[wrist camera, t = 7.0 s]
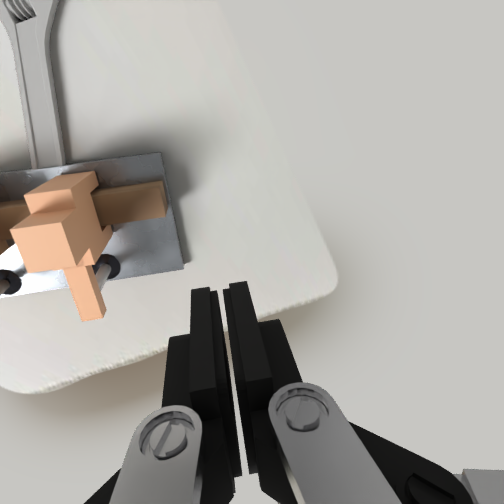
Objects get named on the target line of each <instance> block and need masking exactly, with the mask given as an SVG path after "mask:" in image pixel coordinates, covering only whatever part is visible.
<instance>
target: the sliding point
mask: <svg viewBox="0 0 504 504" xmlns="http://www.w3.org/2000/svg"><path fill="white" fill-rule="evenodd" d="M98 185H99V184H98V181H97V177H96V174H95V171H89V172H82V173H74V174H66V175H59V176H56V177H54V178H52V179H51V180H49V181H47V182H45V183H44V184H42V185H40V186H38V187H37V188H35V189H33V190H31V191H30V192H28V193H26V194H24V198H25V200H26V203H27V205H28V208H29V211H30V213H31V215H29V216H28V217H27V218H25V219H24V220H22V221H21V222H20V223H18V224H17V225H15V226H14V227H13V228H11V229H10V232H11V234H12V237H13V239H14V241H15V244H16V246H17V248H18V251H19V253H20V256H21V258H22V260H23V263H24V265H25V267H26V270H27V272H28V273H34V272H41V271H48V270H53V271H55V270H62V269H63V272H64V274H65V277H66V280H67V282H68V285H69V288H70V290H71V293H72V296H73V298H74V301H75V304H76V307H77V309H78V312H79V315H80V317H81V320H82V322H83V321H89V320H95V319H101V318H103V317H104V314H105V312H106V307H105V304H104V301H103V298H102V295H101V290H102V288H103V286H104V284H105V282H106V280H107V278H108V276H109V274H110V272H111V267H110V265H108V264H102V265H101V266H100V268H99V269H98V271H97V273H96V275H95V274H94V271H93V268H92V265H95V263H96V262H97V260H98V258H99V257H100V255H101V254H102V252H103V250H104V249H105V247H106V245H107V244H108V242H109V240H110V239H111V237H112V235H113V232H112V229H111V225H105V226H100V223H99V220H98V217H97V213H96V210H95V207H94V203H93V200H92V197H91V194H90V193H91V192H92V191H93V190H94V189H95V188H96V187H97V186H98Z"/></svg>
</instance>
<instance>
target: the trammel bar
mask: <svg viewBox="0 0 504 504" xmlns="http://www.w3.org/2000/svg"><path fill="white" fill-rule="evenodd" d="M90 194H91V197H92V200H93V203H94V207H95V210H96V213H97V217H98V220H99V223H100V226H105V225H112V224H119V223H126V222H133V221H140V220H147V219H154V218H161V217H166V214H167V210H168V205H167V201H166V196H165V191H164V187H163V182H162V181H155V182H148V183H141V184H133V185H126V186H118V187H111V188H103V189H96V190H93V191H92V192H91V193H90ZM29 215H31V213H30V211H29V208H28V205H27V203H26V200H25V199H22V200H14V201H7V202H0V256H1V255H2V254H3V253H4V252H6V251H7V250H8V249H9V246H8V244H7V242H6V240H8V239H13V237H12V234H11V232H10V229H11V228H13V227H14V226H15V225H17V224H18V223H20V222H21V221H22V220H24V219H25V218H27V217H28V216H29ZM9 286H10V284H9V282H8V281H7V280H4V279H1V280H0V296H1V295H2V294H3V293H4V292H5V291H6V290H7V289H8V288H9Z"/></svg>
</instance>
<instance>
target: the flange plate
mask: <svg viewBox="0 0 504 504" xmlns="http://www.w3.org/2000/svg"><path fill="white" fill-rule="evenodd" d="M89 171H95V174H96V177H97V181H98V184H99V185H98V186H97V187H96V188H95V189H94V190H96V189H103V188H111V187H118V186H126V185H133V184H141V183H148V182H155V181H162V182H163V187H164V191H165V196H166V201H167V205H168V210H167V214H166V217H161V218H154V219H147V220H140V221H133V222H126V223H119V224H112V225H111V229H112V232H113V235H112V237H111V239H110V240H109V242H108V244H107V245H106V247H105V249H104V250H103V252H102V254H101V255H100V257H99V258H98V260H97V262H96V263H95V265H92V268H93V271H94V274H95V275H96V273H97V271H98V269H99V268H100V266H101V265H102V264H108V265H110V267H111V272H110V274H109V276H108V278H107V280H106V281H112V280H118V279H124V278H131V277H137V276H144V275H150V274H156V273H163V272H169V271H176V270H182V269H184V262H183V257H182V252H181V247H180V242H179V237H178V233H177V228H176V223H175V218H174V213H173V209H172V204H171V199H170V194H169V189H168V185H167V180H166V175H165V170H164V165H163V161H162V156H161V152H157V153H149V154H141V155H133V156H126V157H118V158H110V159H102V160H94V161H87V162H79V163H71V164H65V165H64V166H59V167H58V166H56V167H48V168H41V169H36V170H32V169H24V170H16V171H8V172H1V173H0V202H7V201H14V200H22V199H25V198H24V194H26V193H28V192H30V191H31V190H33V189H35V188H37V187H38V186H40V185H42V184H44V183H45V182H47V181H49V180H51V179H52V178H54V177H56V176H59V175H66V174H74V173H82V172H89ZM6 242H7V244H8V246H9V249H8V250H7V251H6V252H4V253H3V254H2V255H1V256H0V280H1V279H4V280H7V281H8V282H9V284H10V286H9V288H8V289H7V290H6V291H5V292H4V293H3V294H2V295H1V296H0V298H3V297H9V296H16V295H22V294H28V293H35V292H41V291H48V290H54V289H60V288H67V287H69V285H68V282H67V280H66V277H65V274H64V272H63V269H62V270H55V271H53V270H48V271H41V272H34V273H28V272H27V270H26V267H25V265H24V263H23V260H22V258H21V256H20V253H19V251H18V248H17V246H16V244H15V241H14V239H8V240H6Z"/></svg>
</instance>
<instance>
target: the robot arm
mask: <svg viewBox="0 0 504 504" xmlns="http://www.w3.org/2000/svg"><path fill="white" fill-rule="evenodd" d="M223 295H224V303H225V310H226V317H227V325H228V332H229V340H230V347H231V354H232V361H233V369H234V376H235V384H236V390H237V397H238V404H239V410H240V417H241V423H242V429H243V436H244V443H245V449H246V455H247V462H248V468H249V474H254V473H258V476H259V482H260V487H261V490H262V491H263V492H264V493H266V494H267V495H268V496H270V497H271V498H273V499H274V500H276V501H277V502H278V504H504V470H478V469H463V472H462V474H452V473H450V472H449V471H447V470H446V469H444V468H442V467H441V466H439V465H437V464H435V463H433V462H431V461H429V460H427V459H425V458H423V457H421V456H419V455H417V454H415V453H413V452H411V451H409V450H407V449H405V448H403V447H400V446H398V445H396V444H394V443H392V442H390V441H388V440H386V439H384V438H382V437H380V436H378V435H376V434H374V433H371V432H370V431H367V430H365V429H363V428H361V427H359V426H357V425H355V424H353V423H351V422H349V421H348V420H347V419H346V418H345V416H344V415H343V413H342V411H341V410H340V408H339V407H338V405H337V404H336V402H335V401H334V399H333V398H332V397H331V396H330V394H329V393H328V392H327V391H326V390H324V389H322V388H321V387H319V386H317V385H314V384H310V383H303V381H302V379H301V376H300V373H299V371H298V368H297V365H296V363H295V360H294V357H293V354H292V351H291V349H290V346H289V343H288V341H287V338H286V335H285V332H284V330H283V327H282V324H281V322H280V320H279V319H276V320H270V321H264V322H258V321H257V318H256V314H255V310H254V306H253V303H252V299H251V295H250V292H249V288H248V284H247V281H243V282H237V283H231V284H229V289H223ZM239 476H242V469H241V460H240V452H239V444H238V436H237V427H236V420H235V411H234V402H233V394H232V386H231V377H230V369H229V363H228V356H227V349H226V343H225V337H224V331H223V324H222V318H221V312H220V305H219V299H218V293H217V290H216V291H210V287H205V288H198V289H192V290H191V317H190V334H185V335H179V336H173V337H170V338H169V343H168V352H167V362H166V371H165V381H164V389H163V399H162V408H161V409H159V410H156V411H154V412H153V413H151V414H150V415H148V416H147V417H146V418H145V419H144V420H143V421H142V422H141V423H140V424H139V425H138V427H137V428H136V430H135V432H134V434H133V436H132V439H131V442H130V445H129V448H128V451H127V453H126V456H125V459H124V462H123V465H122V468H121V469H119V470H118V471H117V472H116V473H115V474H114V475H113V476H112V477H111V478H110V479H109V480H108V481H107V482H106V483H105V484H104V485H103V486H102V487H101V488H100V489H99V490H98V491H97V492H96V493H94V495H92V496H91V497H90V498H89V499H88V500H87V501H86V502H85V503H84V504H229V502H230V501H231V500H232V498H233V496H234V495H233V493H235V482H234V477H239Z"/></svg>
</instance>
